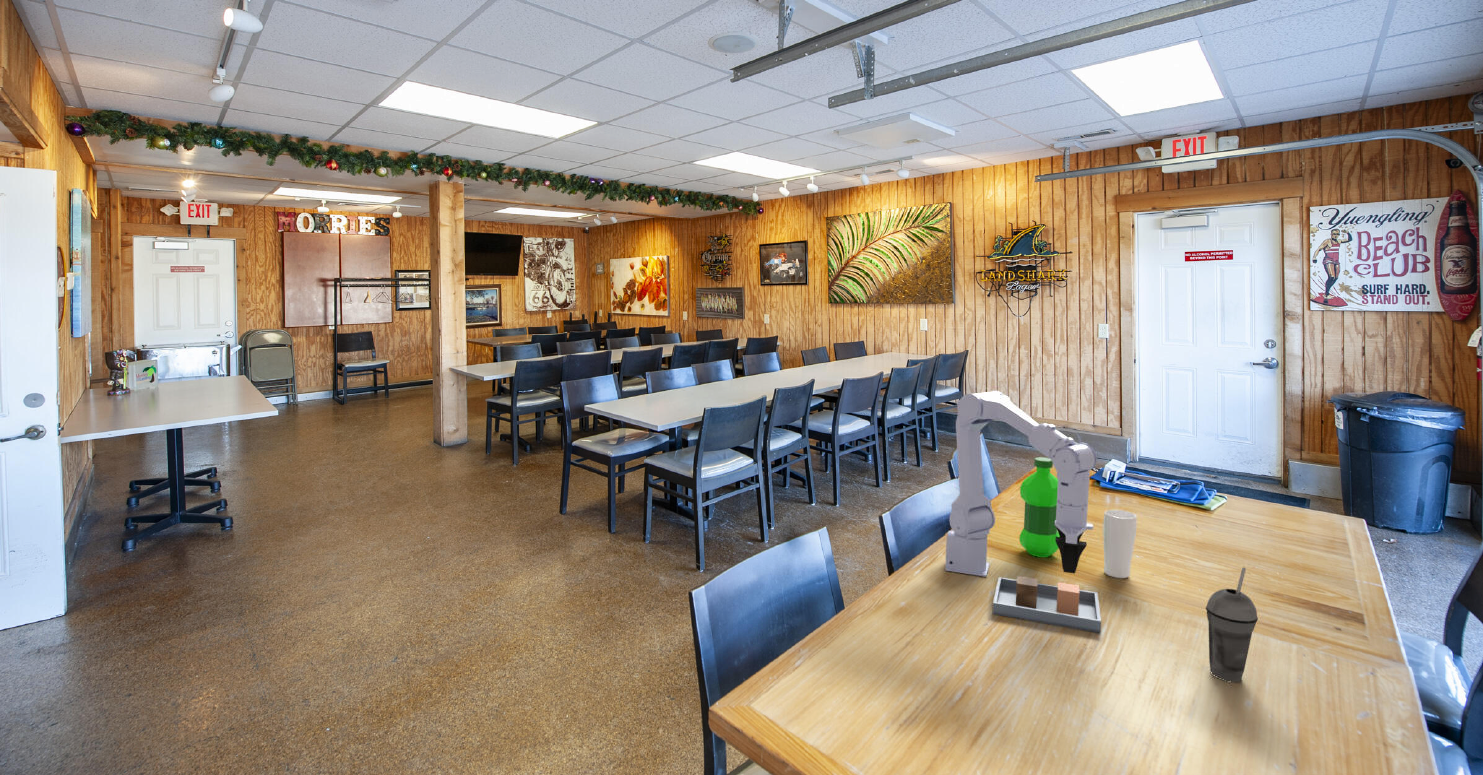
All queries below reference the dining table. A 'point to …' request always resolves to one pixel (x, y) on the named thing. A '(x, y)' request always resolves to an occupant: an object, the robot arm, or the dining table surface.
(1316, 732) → the dining table surface
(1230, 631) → the beverage cup
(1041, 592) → the tray
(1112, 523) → the drinking glass
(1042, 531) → the plastic bottle
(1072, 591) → the terracotta block
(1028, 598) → the walnut block
